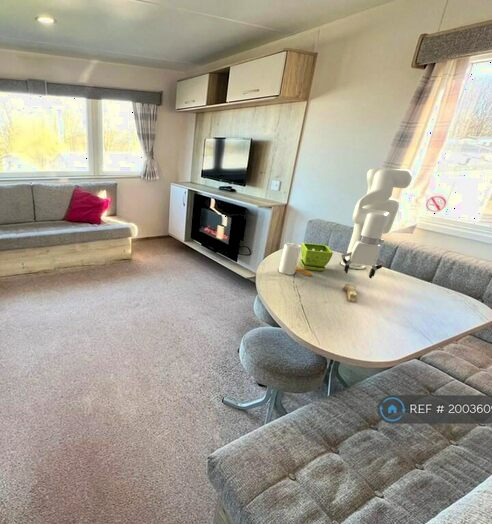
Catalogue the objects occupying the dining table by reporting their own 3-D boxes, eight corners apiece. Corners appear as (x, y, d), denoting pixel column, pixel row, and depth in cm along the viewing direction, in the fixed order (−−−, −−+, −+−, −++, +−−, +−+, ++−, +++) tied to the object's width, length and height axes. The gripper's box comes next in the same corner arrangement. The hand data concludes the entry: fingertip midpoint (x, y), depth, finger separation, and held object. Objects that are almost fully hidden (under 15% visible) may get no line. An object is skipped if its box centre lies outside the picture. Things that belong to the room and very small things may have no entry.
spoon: (357, 302, 145) (360, 296, 144) (345, 300, 147) (347, 293, 146) (354, 289, 158) (356, 283, 156) (343, 287, 160) (345, 281, 158)
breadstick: (292, 269, 179) (293, 266, 179) (295, 269, 180) (295, 266, 180) (309, 276, 171) (310, 273, 171) (311, 275, 172) (312, 272, 172)
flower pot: (296, 261, 192) (301, 242, 187) (321, 264, 189) (327, 245, 184) (301, 270, 179) (306, 249, 175) (327, 273, 176) (333, 252, 171)
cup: (296, 275, 172) (302, 248, 166) (280, 273, 173) (286, 246, 167) (292, 269, 179) (298, 243, 173) (277, 268, 181) (283, 242, 175)
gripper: (391, 241, 139) (378, 276, 145) (346, 234, 146) (336, 268, 153) (394, 245, 133) (381, 282, 139) (347, 238, 140) (337, 273, 146)
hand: (357, 274), depth 146 cm, fingers open, 9 cm apart
